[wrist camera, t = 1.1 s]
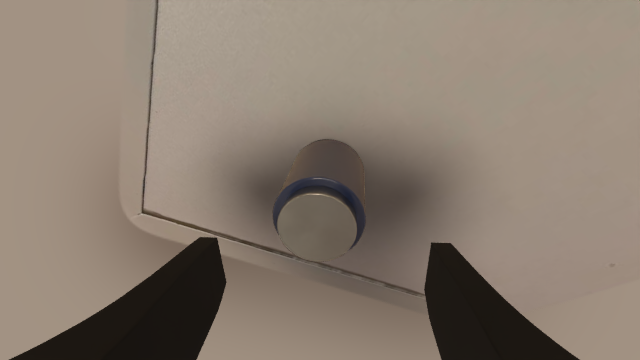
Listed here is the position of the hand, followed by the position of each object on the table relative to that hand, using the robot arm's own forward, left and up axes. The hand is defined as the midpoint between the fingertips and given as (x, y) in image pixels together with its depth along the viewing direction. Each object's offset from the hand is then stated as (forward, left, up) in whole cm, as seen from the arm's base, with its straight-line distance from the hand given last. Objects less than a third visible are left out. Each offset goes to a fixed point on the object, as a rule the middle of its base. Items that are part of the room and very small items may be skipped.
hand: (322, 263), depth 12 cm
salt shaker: (-1, +1, -10) cm, 10 cm away
